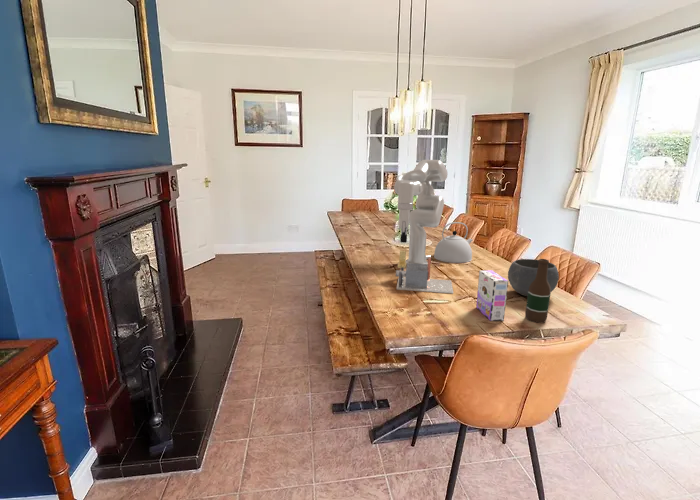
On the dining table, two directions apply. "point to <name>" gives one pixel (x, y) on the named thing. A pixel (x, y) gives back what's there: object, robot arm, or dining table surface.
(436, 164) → the robot arm
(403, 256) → the plate
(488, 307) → the candy box
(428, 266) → the lynch pin
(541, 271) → the beer bottle
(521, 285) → the bowl
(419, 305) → the dining table surface
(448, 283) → the hitch block
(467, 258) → the kettle
